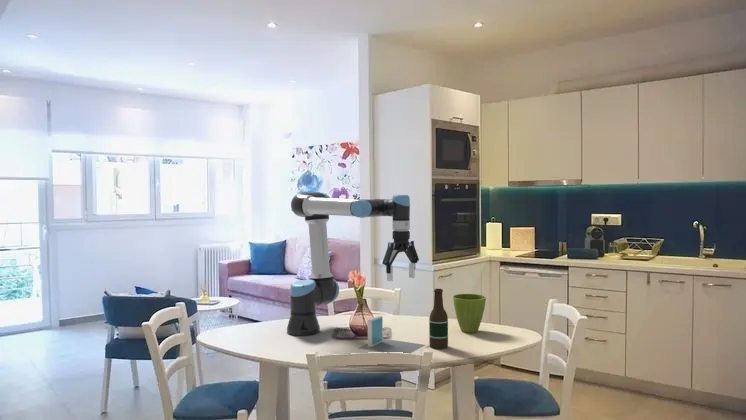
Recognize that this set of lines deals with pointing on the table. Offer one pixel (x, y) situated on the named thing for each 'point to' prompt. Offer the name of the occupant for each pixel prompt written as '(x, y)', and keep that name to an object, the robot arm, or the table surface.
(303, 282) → the robot arm
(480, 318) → the flower pot
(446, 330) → the beer bottle
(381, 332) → the tile
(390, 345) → the mat
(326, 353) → the table surface
